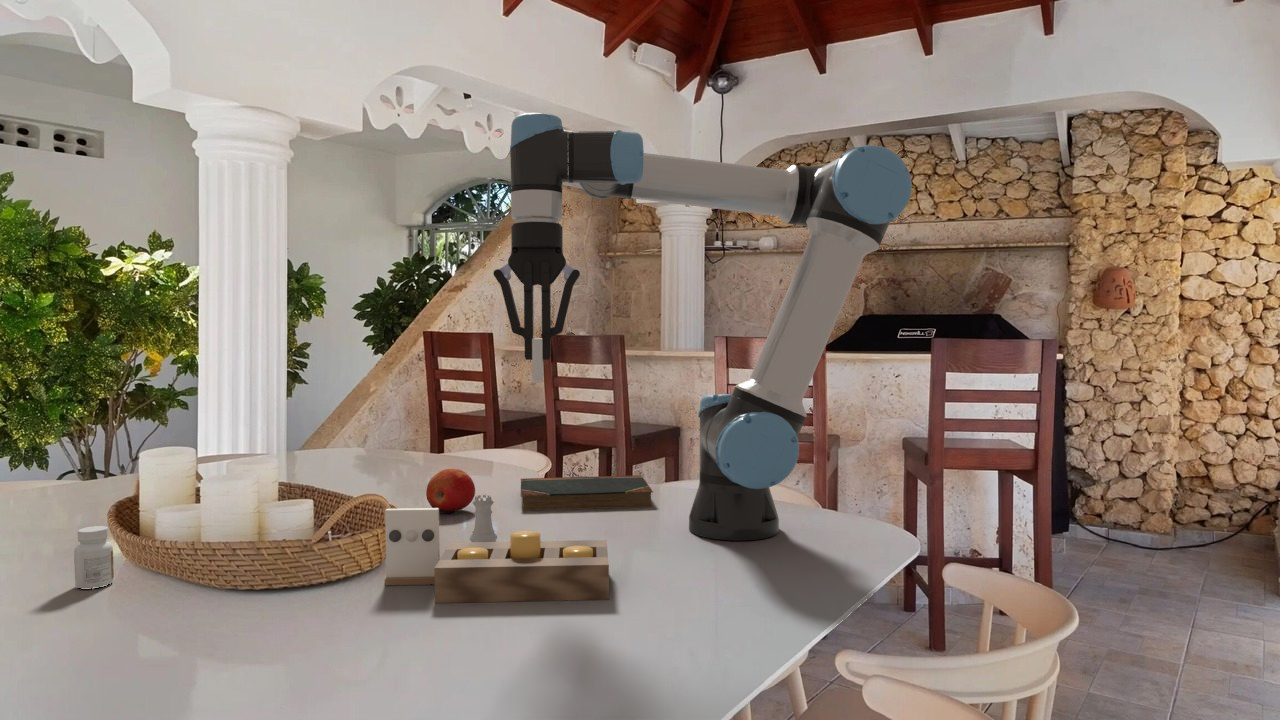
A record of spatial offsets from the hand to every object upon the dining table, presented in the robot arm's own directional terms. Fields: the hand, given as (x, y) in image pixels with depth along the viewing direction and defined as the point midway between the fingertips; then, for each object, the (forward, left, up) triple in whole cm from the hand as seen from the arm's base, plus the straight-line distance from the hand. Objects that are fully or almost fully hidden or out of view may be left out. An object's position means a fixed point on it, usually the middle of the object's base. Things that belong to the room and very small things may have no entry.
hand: (537, 381), depth 127 cm
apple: (+18, -30, -27) cm, 44 cm away
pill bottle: (+59, +10, -27) cm, 65 cm away
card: (+16, +11, -26) cm, 33 cm away
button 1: (+8, +14, -26) cm, 30 cm away
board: (+1, +14, -26) cm, 30 cm away
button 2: (-6, +14, -26) cm, 30 cm away
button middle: (+1, +14, -24) cm, 27 cm away
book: (-7, -40, -27) cm, 49 cm away
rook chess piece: (+9, -6, -27) cm, 29 cm away
